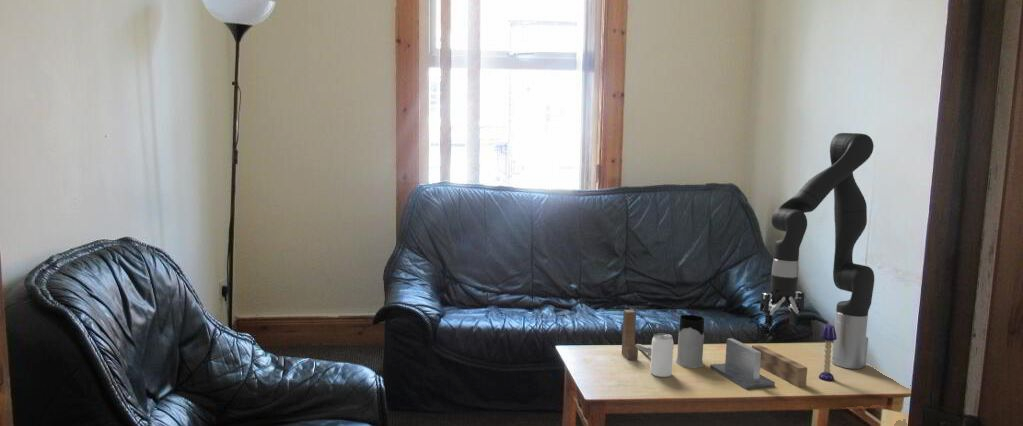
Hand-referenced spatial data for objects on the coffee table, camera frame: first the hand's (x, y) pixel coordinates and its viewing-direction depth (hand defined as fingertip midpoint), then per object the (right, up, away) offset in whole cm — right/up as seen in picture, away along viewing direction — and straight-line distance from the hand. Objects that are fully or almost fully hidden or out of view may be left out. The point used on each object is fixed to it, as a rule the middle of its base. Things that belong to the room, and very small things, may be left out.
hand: (780, 325), depth 208 cm
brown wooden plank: (0, -16, +2) cm, 16 cm away
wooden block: (-44, -13, +14) cm, 48 cm away
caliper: (-38, -13, +16) cm, 44 cm away
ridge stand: (-13, -15, -2) cm, 20 cm away
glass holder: (-25, -14, +12) cm, 31 cm away
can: (-37, -15, -1) cm, 40 cm away
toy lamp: (+13, -16, -1) cm, 21 cm away
